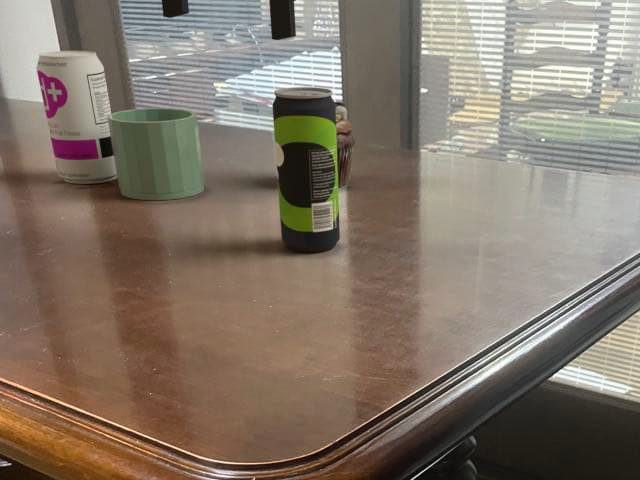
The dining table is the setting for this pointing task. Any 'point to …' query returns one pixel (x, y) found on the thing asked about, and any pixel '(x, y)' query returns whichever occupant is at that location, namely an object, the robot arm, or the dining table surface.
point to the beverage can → (307, 168)
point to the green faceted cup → (157, 153)
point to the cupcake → (343, 144)
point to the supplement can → (77, 115)
